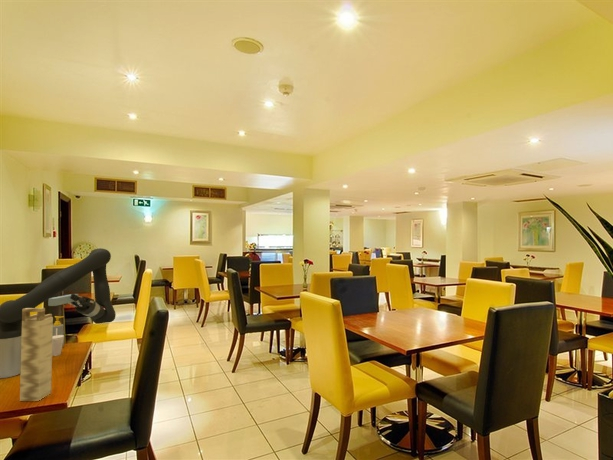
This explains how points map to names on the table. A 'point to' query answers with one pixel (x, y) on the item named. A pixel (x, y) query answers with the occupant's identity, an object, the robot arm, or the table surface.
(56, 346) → the smoothie
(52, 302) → the bar
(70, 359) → the table surface
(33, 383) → the tall patterned tan block
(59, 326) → the soap bottle
